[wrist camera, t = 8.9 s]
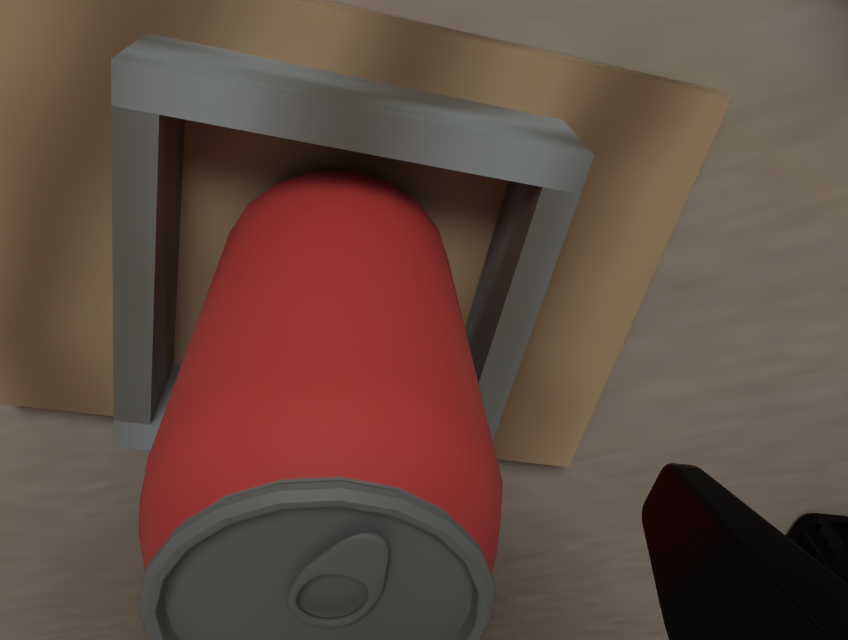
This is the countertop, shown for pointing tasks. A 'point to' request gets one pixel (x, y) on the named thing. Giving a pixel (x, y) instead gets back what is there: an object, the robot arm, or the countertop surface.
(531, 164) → the can holder
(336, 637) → the beer can
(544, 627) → the countertop surface
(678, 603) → the robot arm
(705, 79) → the countertop surface
